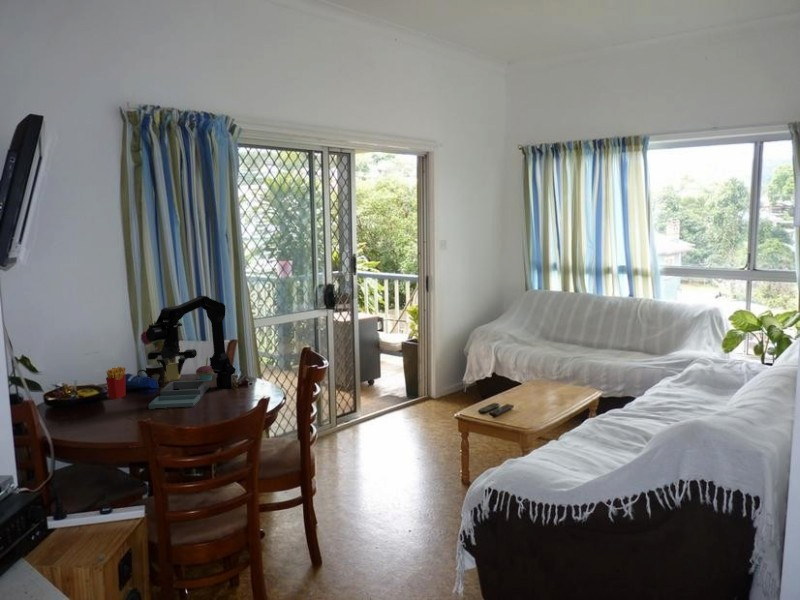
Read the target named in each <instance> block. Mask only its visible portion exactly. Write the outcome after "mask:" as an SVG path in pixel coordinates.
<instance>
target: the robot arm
mask: <svg viewBox="0 0 800 600" xmlns="http://www.w3.org/2000/svg"><path fill="white" fill-rule="evenodd" d="M199 308H201V309H203V310H204V311H205V313H206V316H207V318H208V319H209V321H210V324H211V325H210V326H211V336H212V345H213V354H212V357H209V362H210V364H209V366H210V367H211V368H212V369H213V371H214V373H213V375H217V376H216V378H215V381H216V382H215V383H216V388H217V389H232V388H233V386H232V383H233V384H234V382H233V375H234V374H236V368H235V367H234V366H233V365H232V364H231V360H230V357H229V355H228V354H227V352H226V346H225V335H224V323H223V322H224V320H225V319H224V318H225V316H226V305H225V304H224V303H223V302H220V301H217V300H215V299H213V298H211V297H210V296H207V295H198V296H197V297H194V298H192V299H190V300H188V301H186V302H183V303H181V304H178V305H173V306H168V307H163V308H161V310H160V314H159V315H158V318H157V319H156V322H155V323H154V324H149V325H148V328H147V330H146V333H145V337H146V339H147V341H149V342H150V343H152V342H158V341H163V346H162V348H161V349H160V350H151V351H150V352H148V353H147V360H152V361H153V360H156V361H157V362H159V364H162V365H163V367H164V370H165V373H166V365H167V364H169V359H174V358H175V357H179V358H178V359H177V361H178V362H177V363H179V367H178V372H179V375H180V373H182V370H183V367H184V363H185V362H186V360H188V359H195V358H196V357H197V355H198V353H197V352H198V351H197V350H196V349H195V348H194V349H193V348H192V349H185V351H181V348H180V339H179V327H182V326H183V324H182V323H181V322H180V320H182V318H183V317H184V316H185V315H187V314H188V313H190V312H192V311H193V312H194V311H195V310H197V309H199ZM231 387H232V388H231Z"/></svg>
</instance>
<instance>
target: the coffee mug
mask: <svg viewBox="0 0 800 600" xmlns="http://www.w3.org/2000/svg"><path fill="white" fill-rule="evenodd" d="M160 364H161V363H154V364H148V365H146V366H145V369H139V370H138V371H137V377H138V378H139V377H141V376H140V375H139V373H140V372H144V373H145V374H146V377H147V378H148V377H150V378H153V379H156V380H157V381H158V384H159V387H162V388H164V387H165V379H166V378H165V376H166V372H165V370H164V367H163V365H162V364H161V365H160ZM163 386H164V387H163Z"/></svg>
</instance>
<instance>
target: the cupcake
mask: <svg viewBox="0 0 800 600" xmlns="http://www.w3.org/2000/svg"><path fill="white" fill-rule="evenodd" d="M208 357H209V356H208V355H207V357H206V362H205V365H202V366H199V367H198V368H197V369H196V371H195V374H196V375H198V377H199V379H200V380H209V382H211V381H212V378H213V375H214V371H213V369H212V368H211V366H210V365H208V363H209V358H208Z"/></svg>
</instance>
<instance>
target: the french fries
mask: <svg viewBox="0 0 800 600" xmlns="http://www.w3.org/2000/svg"><path fill="white" fill-rule="evenodd" d="M106 376H107V377H105V381H106V385H107V391H108V397H109V399H110V400H115V399H116V400H117V399H121V398H122V397H123V398H124V397H126V367H123V366H117V367H115V366H114V367H112V368H111V369H107V371H106Z"/></svg>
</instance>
